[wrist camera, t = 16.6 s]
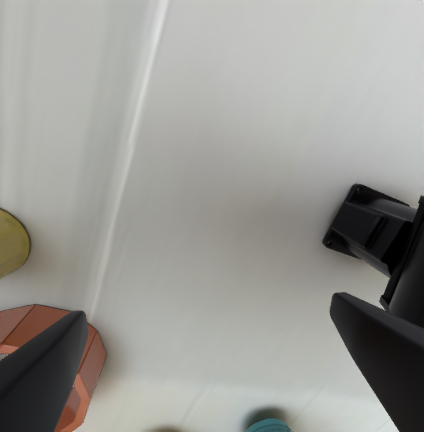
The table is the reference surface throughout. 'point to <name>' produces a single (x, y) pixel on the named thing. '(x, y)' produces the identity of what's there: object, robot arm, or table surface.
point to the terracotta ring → (89, 366)
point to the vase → (12, 244)
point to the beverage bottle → (269, 426)
